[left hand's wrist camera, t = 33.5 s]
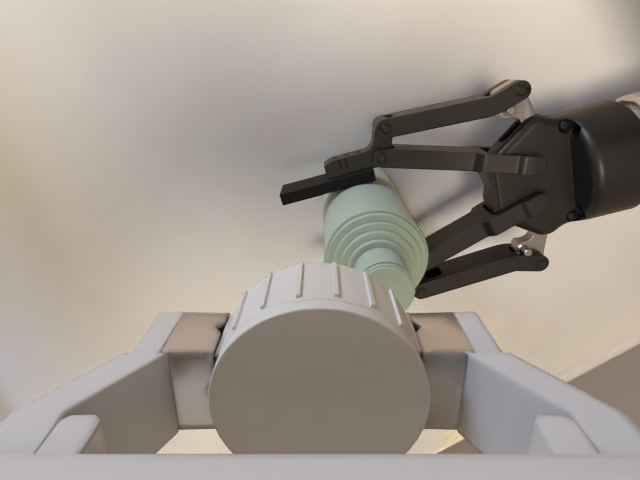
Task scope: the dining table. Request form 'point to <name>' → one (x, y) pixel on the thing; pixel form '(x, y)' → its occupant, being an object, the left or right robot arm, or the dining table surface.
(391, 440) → the cap
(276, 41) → the dining table surface
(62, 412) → the left robot arm
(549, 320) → the dining table surface
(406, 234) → the bottle
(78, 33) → the dining table surface
